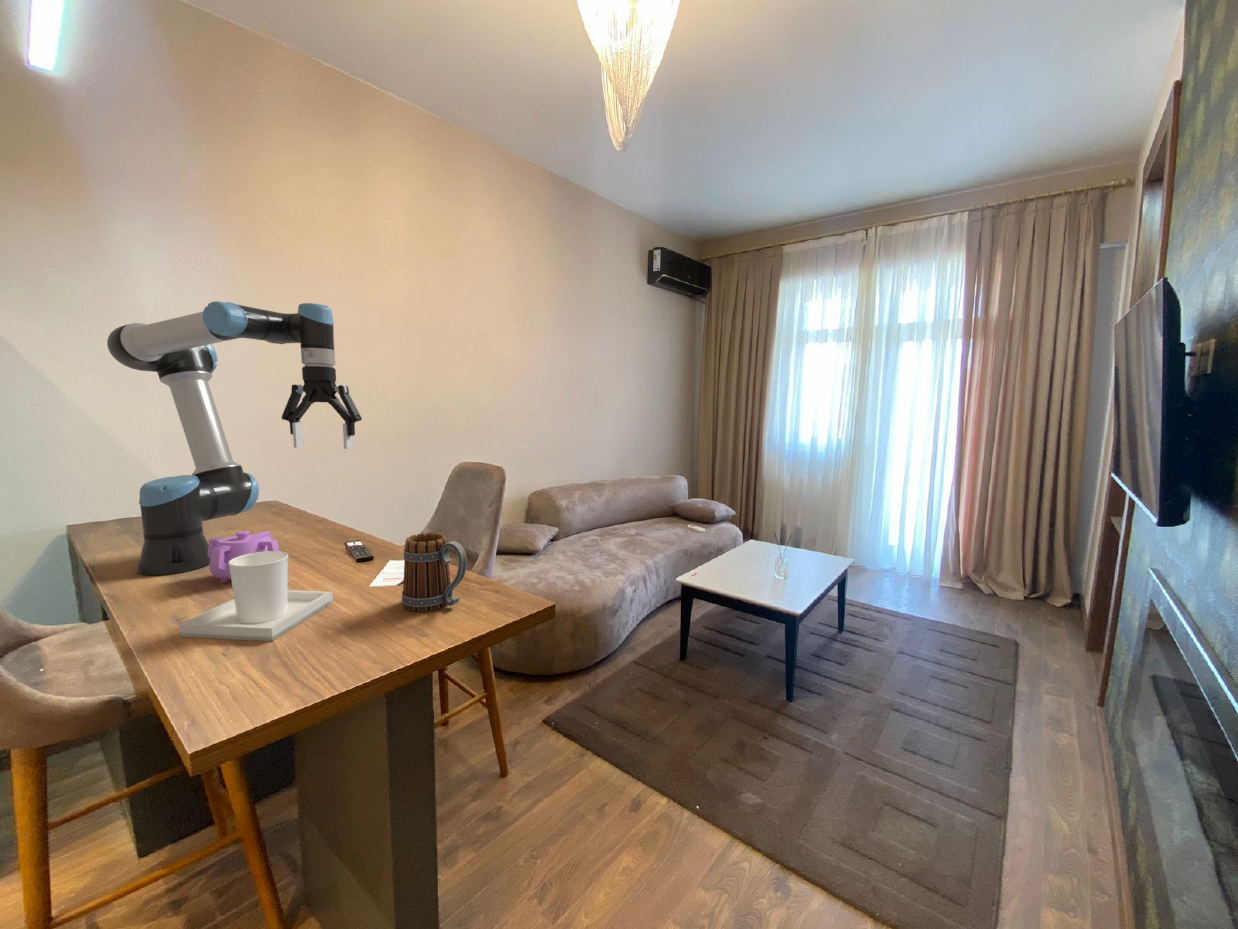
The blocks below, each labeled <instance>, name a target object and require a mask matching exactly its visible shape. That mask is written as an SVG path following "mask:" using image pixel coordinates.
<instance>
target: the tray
mask: <svg viewBox="0 0 1238 929" xmlns="http://www.w3.org/2000/svg"><path fill="white" fill-rule="evenodd" d="M333 593H334V592H333V591H322V590H321V591H320V590H319V591H318V590H299V589H298V590H297V589H296V590H294V589H288V610H287V612H286V613H285V614H284V615H283V616H281V617H279V618H276V619H274V620H271V621H267V622H262V623H254V624H246V623H241V622H239V621H238V618H237V613H236V607H235V601H234V598H232V599H230V600H228V601H226V602H224V603H221V604H220V605H216V606H215V607H213V608H210V609H209V610H206V611H204V612H202V613H200V614H199V615H196V616H194V617H192V618H190V619H188V620H186V621H184V622H182V623H180V624H178V626H179V636H180V638H190V639H191V638H194V639H209V640H210V639H212V640H213V639H214V640H234V641H236V640H237V641H255V640H257V642H258V641H260V642H262V641H264V642H273V641H276V640H277V639H278V638H280V637H282V636H284V635H285V634H286V633H288V632H290V631H291V630H292V629H294V628H296V627H297V626H299V625H300V623H301V624H302V623H303V622H305V621H306V619H307V620H308V619H311V616H312V617H313V616H314V614H315V615H316V614H318V613H319V612H321V611H323V610H324V609H326V608H327V607H329V606H330V605H332V604H333V603H334V594H333ZM332 602H333V603H332ZM331 603H332V604H331ZM326 606H327V607H326ZM325 607H326V608H325Z"/></svg>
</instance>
